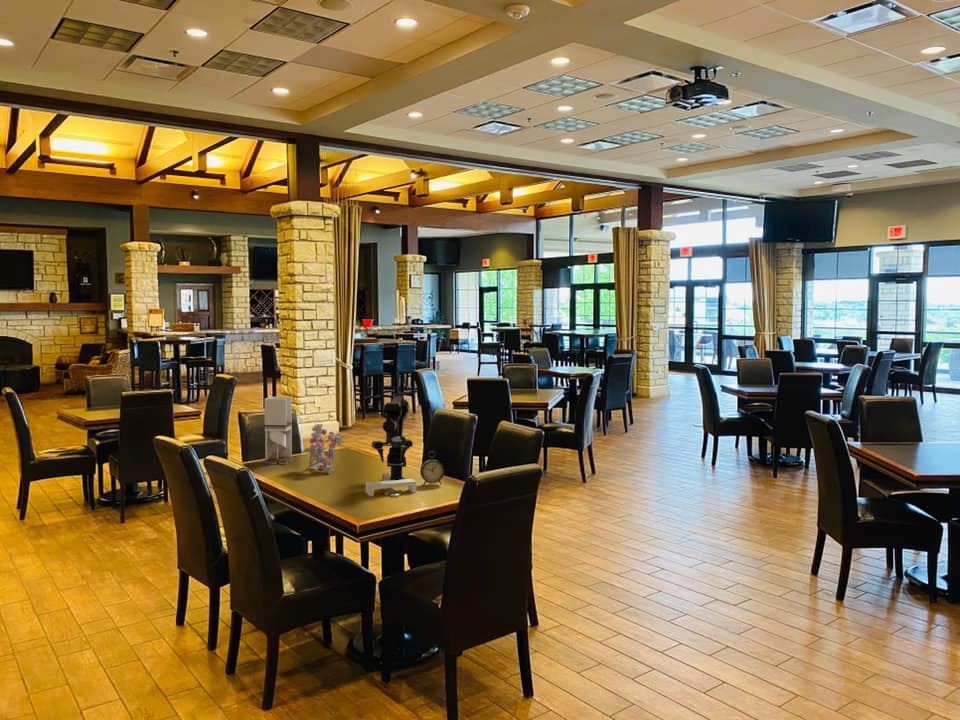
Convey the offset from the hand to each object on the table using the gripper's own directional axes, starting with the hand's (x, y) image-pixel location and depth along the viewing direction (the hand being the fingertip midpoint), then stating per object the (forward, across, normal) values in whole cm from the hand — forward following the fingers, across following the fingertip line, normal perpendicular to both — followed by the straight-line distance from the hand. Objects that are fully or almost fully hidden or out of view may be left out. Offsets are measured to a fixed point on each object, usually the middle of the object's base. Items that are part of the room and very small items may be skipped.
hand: (392, 461), depth 354 cm
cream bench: (+11, -5, -15) cm, 19 cm away
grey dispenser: (+11, -42, +71) cm, 83 cm away
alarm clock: (+11, +18, -6) cm, 22 cm away
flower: (+11, -24, +40) cm, 48 cm away
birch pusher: (+11, -5, -12) cm, 17 cm away
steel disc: (+11, -5, -21) cm, 24 cm away
